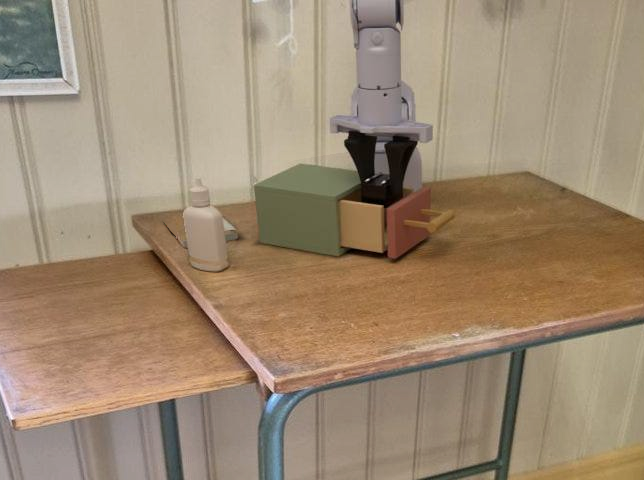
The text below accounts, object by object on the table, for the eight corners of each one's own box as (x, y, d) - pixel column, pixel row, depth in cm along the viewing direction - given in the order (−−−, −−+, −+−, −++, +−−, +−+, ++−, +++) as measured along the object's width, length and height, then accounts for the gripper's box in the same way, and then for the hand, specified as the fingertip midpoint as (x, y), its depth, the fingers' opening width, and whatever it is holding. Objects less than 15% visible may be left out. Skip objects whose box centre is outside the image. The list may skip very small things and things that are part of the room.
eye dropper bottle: (217, 257, 128) (206, 170, 121) (231, 269, 123) (220, 180, 117) (187, 263, 126) (174, 175, 119) (201, 276, 122) (188, 186, 115)
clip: (379, 194, 128) (378, 170, 126) (403, 198, 126) (403, 173, 125) (361, 205, 124) (360, 180, 122) (385, 208, 123) (384, 183, 121)
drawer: (461, 239, 128) (462, 191, 125) (428, 264, 121) (428, 214, 117) (356, 222, 136) (354, 177, 132) (318, 245, 128) (314, 198, 124)
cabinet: (379, 230, 135) (378, 173, 130) (338, 256, 126) (335, 196, 122) (304, 218, 140) (299, 163, 136) (259, 243, 132) (253, 184, 127)
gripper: (315, 87, 117) (321, 192, 125) (415, 95, 111) (415, 206, 119) (343, 77, 122) (348, 179, 130) (440, 84, 116) (439, 191, 124)
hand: (382, 191), depth 125 cm, fingers closed on clip, 4 cm apart
